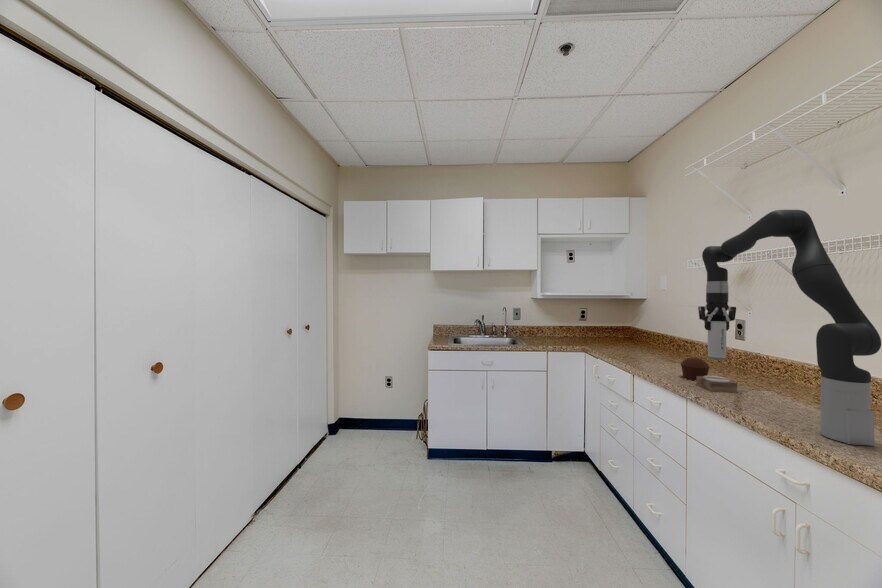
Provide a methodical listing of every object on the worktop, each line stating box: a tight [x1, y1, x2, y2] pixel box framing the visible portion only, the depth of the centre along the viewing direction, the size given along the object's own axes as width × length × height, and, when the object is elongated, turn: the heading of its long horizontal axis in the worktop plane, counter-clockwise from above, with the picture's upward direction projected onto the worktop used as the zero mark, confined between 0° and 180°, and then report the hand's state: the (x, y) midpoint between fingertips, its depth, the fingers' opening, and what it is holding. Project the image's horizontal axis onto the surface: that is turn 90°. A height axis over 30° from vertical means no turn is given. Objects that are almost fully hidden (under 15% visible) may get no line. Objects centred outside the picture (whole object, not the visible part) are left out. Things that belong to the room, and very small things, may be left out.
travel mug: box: [706, 312, 727, 361], centre depth 147 cm, size 6×7×20 cm
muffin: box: [680, 357, 710, 381], centre depth 164 cm, size 12×11×10 cm
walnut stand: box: [695, 375, 738, 393], centre depth 147 cm, size 10×10×4 cm
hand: (716, 330), depth 147 cm, fingers closed on travel mug, 6 cm apart
